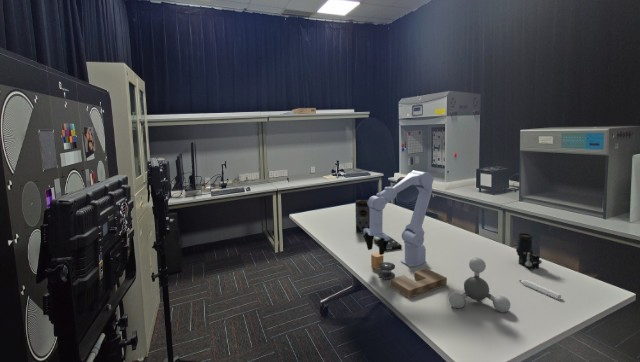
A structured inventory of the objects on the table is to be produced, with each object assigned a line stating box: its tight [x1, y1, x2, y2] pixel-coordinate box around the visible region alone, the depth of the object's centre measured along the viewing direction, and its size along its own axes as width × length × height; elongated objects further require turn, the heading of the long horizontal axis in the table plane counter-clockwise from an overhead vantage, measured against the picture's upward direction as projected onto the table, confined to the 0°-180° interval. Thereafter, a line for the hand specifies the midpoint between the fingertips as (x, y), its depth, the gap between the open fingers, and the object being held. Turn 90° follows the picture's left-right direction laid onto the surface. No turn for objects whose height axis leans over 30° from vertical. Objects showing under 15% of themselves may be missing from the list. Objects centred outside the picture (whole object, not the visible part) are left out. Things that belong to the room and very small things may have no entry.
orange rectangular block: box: [370, 252, 384, 270], centre depth 153 cm, size 4×4×6 cm
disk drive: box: [373, 236, 403, 252], centre depth 181 cm, size 10×3×15 cm
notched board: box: [390, 268, 448, 299], centre depth 134 cm, size 20×11×3 cm, turn 117°
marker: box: [518, 279, 562, 301], centre depth 127 cm, size 3×2×16 cm
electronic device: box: [355, 199, 370, 234], centre depth 204 cm, size 9×6×20 cm, turn 81°
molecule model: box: [448, 257, 511, 313], centre depth 119 cm, size 20×16×20 cm
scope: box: [515, 232, 543, 271], centre depth 149 cm, size 8×14×10 cm
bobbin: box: [378, 261, 396, 281], centre depth 143 cm, size 7×7×5 cm
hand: (375, 251), depth 149 cm, fingers open, 7 cm apart
